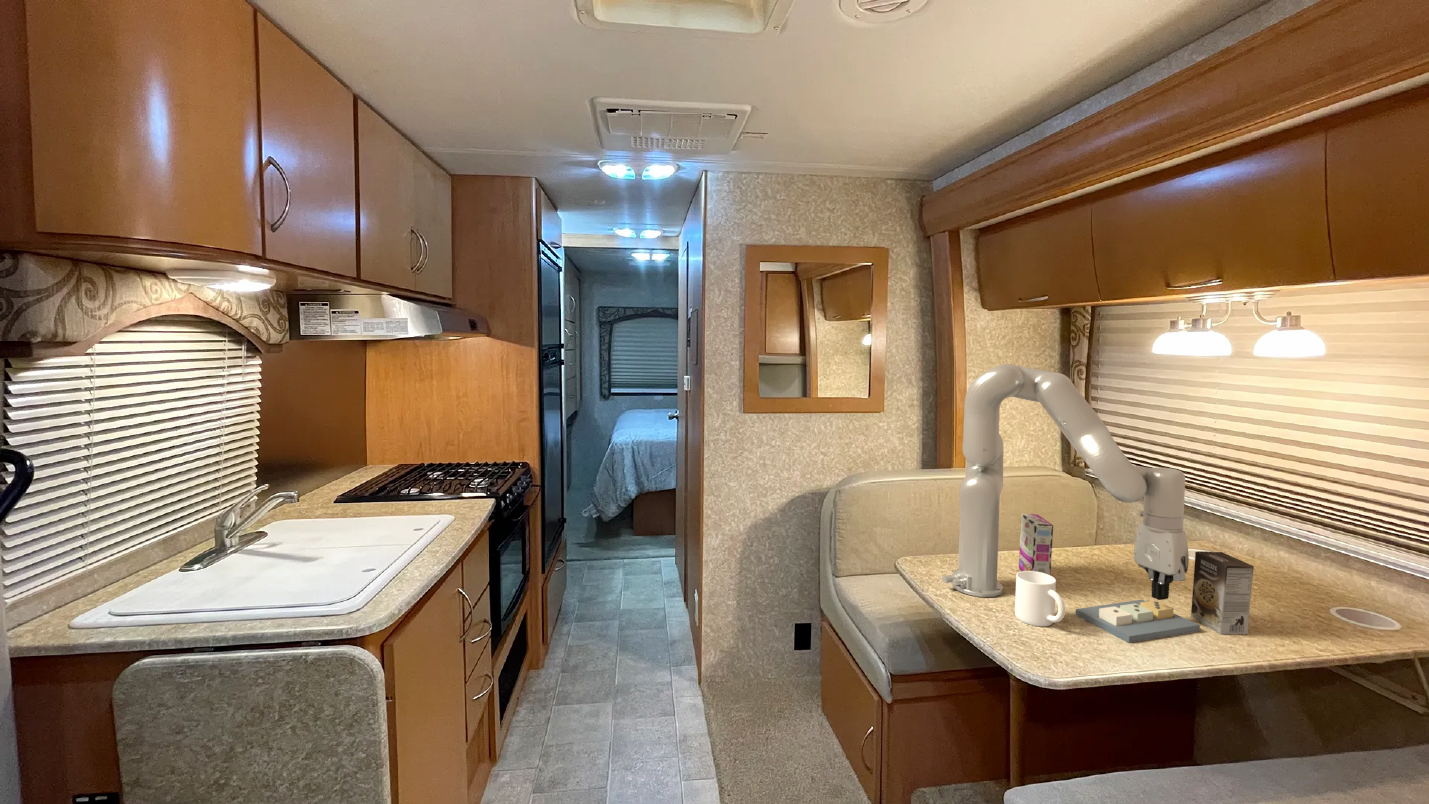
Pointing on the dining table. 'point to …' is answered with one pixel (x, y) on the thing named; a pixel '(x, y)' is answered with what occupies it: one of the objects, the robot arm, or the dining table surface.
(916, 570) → the dining table surface
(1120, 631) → the board
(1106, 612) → the tile
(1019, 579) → the mug
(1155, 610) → the tile
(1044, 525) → the candy bar box
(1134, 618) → the tile
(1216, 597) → the coffee box
